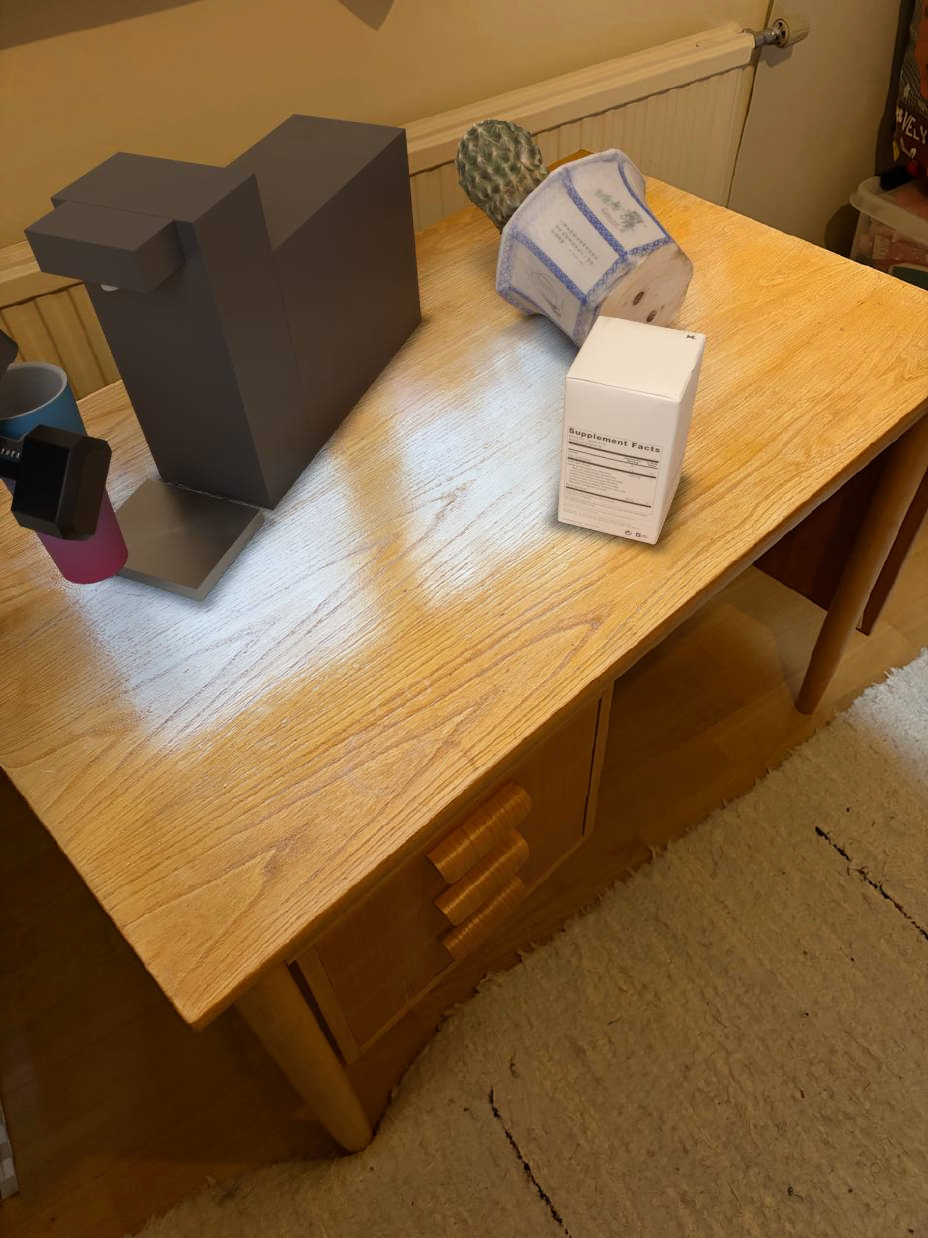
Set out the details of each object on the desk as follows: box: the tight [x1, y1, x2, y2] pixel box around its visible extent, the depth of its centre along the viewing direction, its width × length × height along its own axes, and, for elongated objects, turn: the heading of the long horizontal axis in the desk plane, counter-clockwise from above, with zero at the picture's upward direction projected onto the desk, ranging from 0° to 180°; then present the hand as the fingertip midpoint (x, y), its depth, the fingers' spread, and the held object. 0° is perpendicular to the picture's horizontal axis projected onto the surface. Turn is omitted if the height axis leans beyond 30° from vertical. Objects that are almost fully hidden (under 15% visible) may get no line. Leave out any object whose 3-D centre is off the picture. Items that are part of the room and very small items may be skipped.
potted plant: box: [453, 117, 694, 350], centre depth 91 cm, size 18×18×30 cm
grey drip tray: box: [114, 478, 265, 602], centre depth 75 cm, size 10×12×2 cm
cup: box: [0, 361, 128, 585], centre depth 61 cm, size 7×7×15 cm
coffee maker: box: [23, 113, 422, 511], centre depth 78 cm, size 37×12×26 cm, turn 158°
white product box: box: [557, 316, 707, 545], centre depth 71 cm, size 9×9×15 cm
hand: (68, 472), depth 62 cm, fingers closed on cup, 6 cm apart
